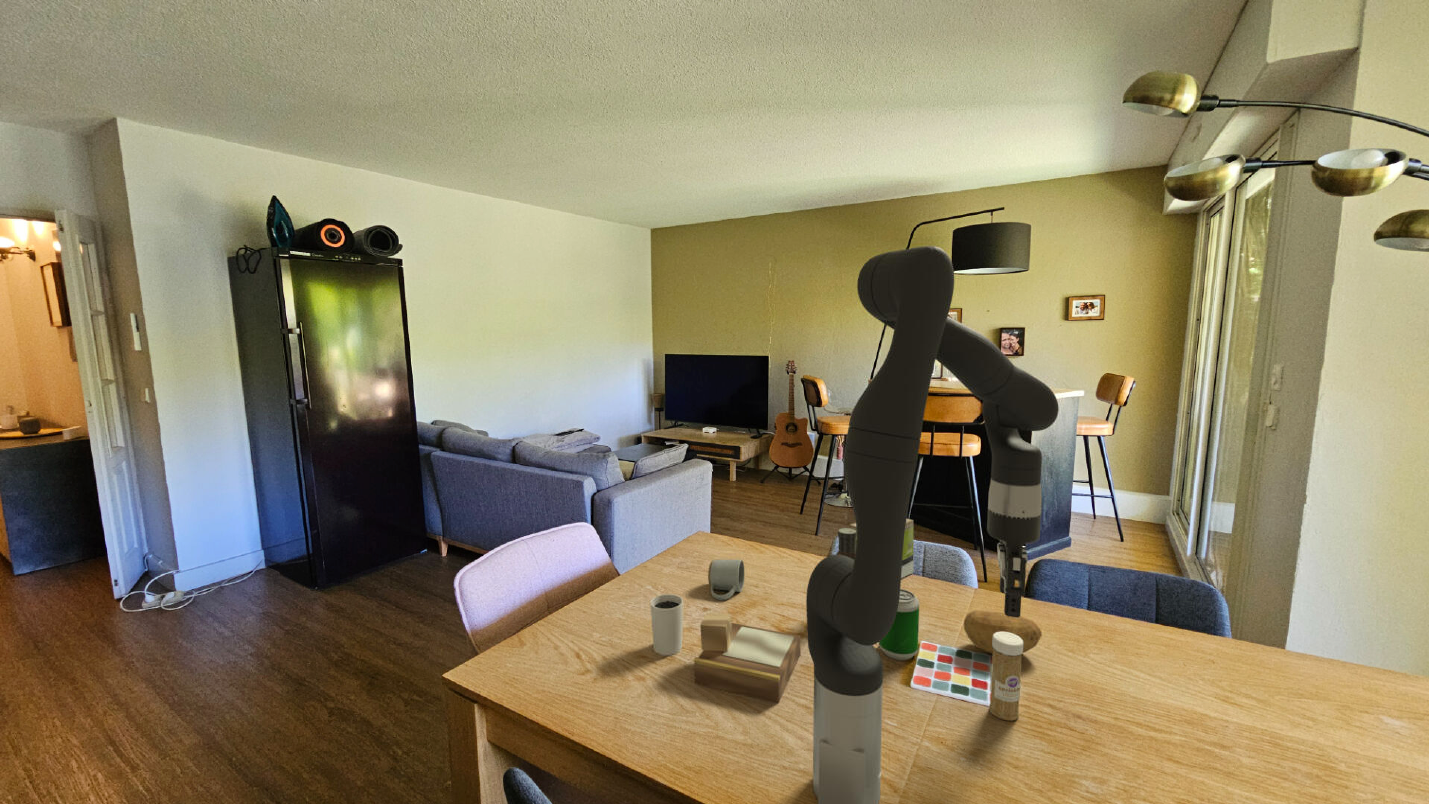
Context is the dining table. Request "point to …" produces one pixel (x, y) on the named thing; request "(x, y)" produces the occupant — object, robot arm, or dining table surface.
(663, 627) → the white cup
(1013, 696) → the sprinkles bottle
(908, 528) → the tea box
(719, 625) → the wooden cube
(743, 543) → the dining table surface
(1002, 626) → the potato
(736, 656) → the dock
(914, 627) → the soda can
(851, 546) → the sauce bottle
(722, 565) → the ceramic mug
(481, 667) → the dining table surface
